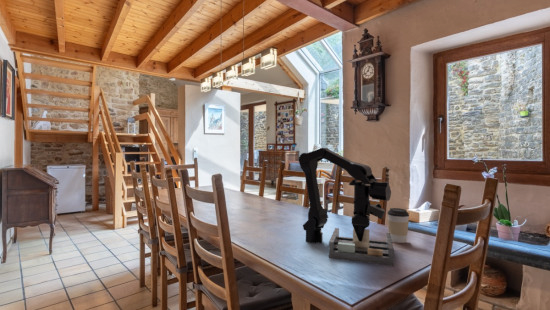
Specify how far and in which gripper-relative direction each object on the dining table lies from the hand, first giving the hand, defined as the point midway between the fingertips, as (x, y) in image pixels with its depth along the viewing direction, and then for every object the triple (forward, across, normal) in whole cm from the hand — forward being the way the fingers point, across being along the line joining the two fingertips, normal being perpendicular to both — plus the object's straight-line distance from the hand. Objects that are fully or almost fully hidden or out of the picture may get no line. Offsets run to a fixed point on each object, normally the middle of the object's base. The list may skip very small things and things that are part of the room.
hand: (360, 237), depth 114 cm
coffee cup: (+7, +22, -15) cm, 28 cm away
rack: (+7, 0, 0) cm, 7 cm away
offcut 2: (+6, -7, -5) cm, 10 cm away
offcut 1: (+6, -7, +5) cm, 10 cm away
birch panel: (+6, 0, 0) cm, 6 cm away
